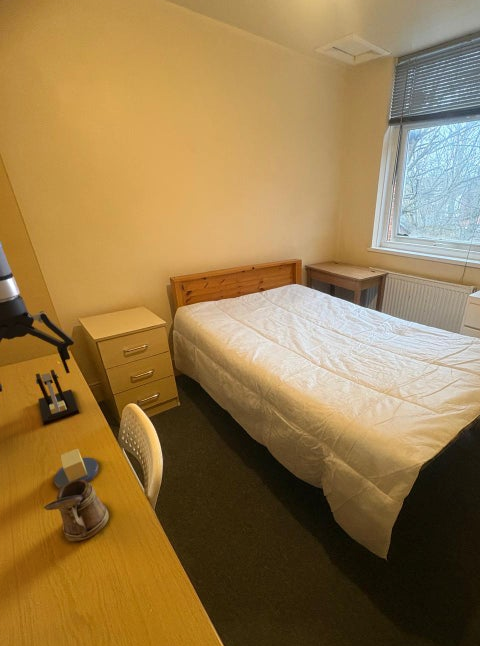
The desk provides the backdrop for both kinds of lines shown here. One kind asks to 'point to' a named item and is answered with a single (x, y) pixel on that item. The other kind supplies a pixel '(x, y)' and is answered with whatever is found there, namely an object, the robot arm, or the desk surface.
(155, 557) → the desk surface
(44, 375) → the slicer blade
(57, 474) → the saucer
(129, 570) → the desk surface
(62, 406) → the cream block
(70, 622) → the desk surface
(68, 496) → the wooden mug
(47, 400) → the slicer
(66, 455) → the butter block
